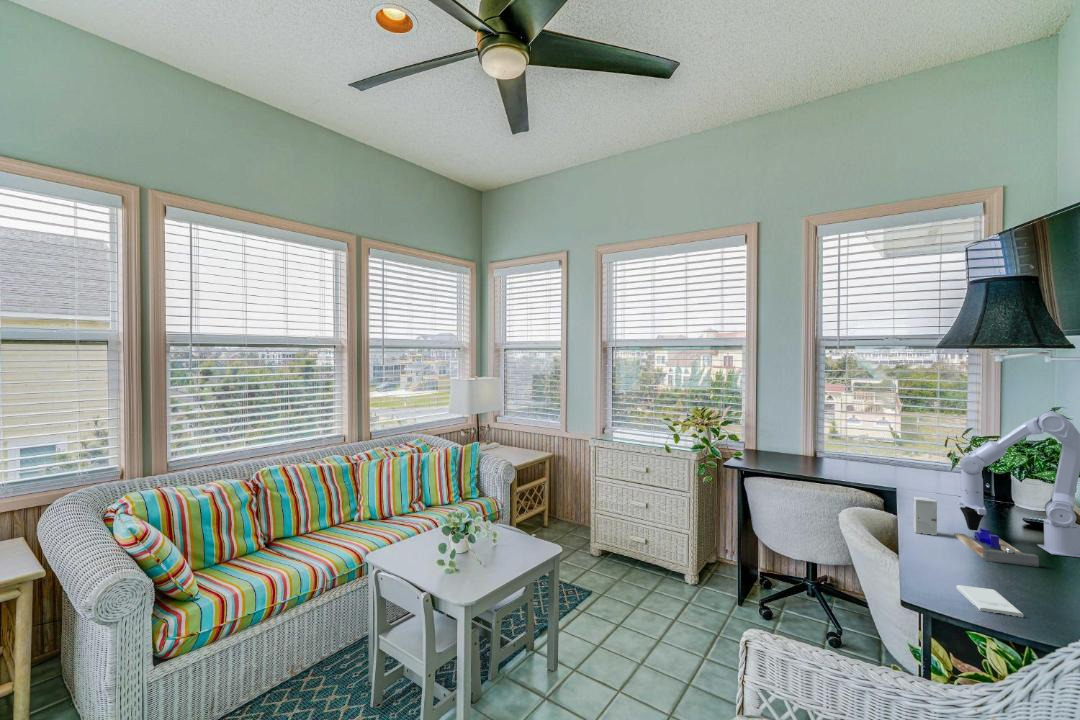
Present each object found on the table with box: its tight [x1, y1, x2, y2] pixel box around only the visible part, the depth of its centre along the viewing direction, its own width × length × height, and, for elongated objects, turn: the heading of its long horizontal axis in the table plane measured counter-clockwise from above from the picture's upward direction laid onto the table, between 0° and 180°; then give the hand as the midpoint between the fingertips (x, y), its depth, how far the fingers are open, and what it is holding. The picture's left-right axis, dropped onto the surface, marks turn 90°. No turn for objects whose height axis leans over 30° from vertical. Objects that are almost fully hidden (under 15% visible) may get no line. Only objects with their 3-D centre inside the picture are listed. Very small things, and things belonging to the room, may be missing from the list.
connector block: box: [982, 547, 1040, 568], centre depth 142 cm, size 12×2×4 cm, turn 68°
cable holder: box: [974, 527, 1000, 549], centre depth 157 cm, size 8×4×4 cm, turn 155°
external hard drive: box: [956, 584, 1024, 618], centre depth 119 cm, size 2×8×12 cm
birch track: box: [953, 532, 1023, 559], centre depth 152 cm, size 12×21×1 cm, turn 158°
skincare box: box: [913, 496, 938, 536], centre depth 167 cm, size 6×4×12 cm
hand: (972, 529), depth 164 cm, fingers closed
